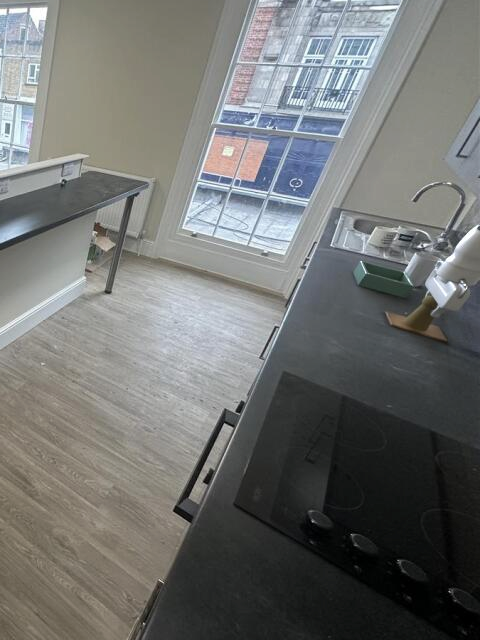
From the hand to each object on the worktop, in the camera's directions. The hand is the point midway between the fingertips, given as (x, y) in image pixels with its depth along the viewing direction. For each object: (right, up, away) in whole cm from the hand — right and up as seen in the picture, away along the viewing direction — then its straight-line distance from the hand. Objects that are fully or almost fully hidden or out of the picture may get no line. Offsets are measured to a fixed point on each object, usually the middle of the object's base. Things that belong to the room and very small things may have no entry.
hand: (429, 309), depth 133 cm
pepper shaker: (-1, -6, +4) cm, 7 cm away
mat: (-1, -6, +4) cm, 7 cm away
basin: (+14, +9, +30) cm, 34 cm away
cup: (+31, +9, +34) cm, 47 cm away
